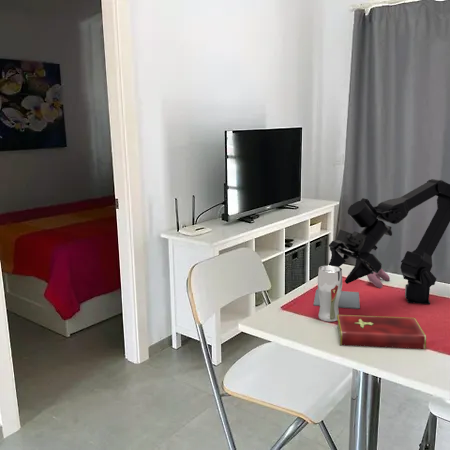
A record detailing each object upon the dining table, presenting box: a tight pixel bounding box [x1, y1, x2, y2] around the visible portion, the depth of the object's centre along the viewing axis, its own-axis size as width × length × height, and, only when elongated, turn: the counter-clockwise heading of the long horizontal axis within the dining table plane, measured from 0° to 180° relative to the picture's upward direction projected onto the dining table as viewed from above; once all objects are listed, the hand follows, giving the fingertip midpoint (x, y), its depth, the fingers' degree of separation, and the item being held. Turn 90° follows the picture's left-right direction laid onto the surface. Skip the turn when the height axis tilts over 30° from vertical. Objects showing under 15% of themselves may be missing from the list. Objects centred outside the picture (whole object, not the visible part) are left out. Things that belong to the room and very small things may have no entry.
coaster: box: [313, 288, 361, 310], centre depth 157 cm, size 14×14×1 cm
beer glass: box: [317, 265, 343, 323], centre depth 141 cm, size 7×7×15 cm
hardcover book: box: [337, 314, 427, 350], centre depth 129 cm, size 12×21×4 cm, turn 82°
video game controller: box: [366, 267, 391, 289], centre depth 171 cm, size 10×5×7 cm, turn 145°
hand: (336, 278), depth 141 cm, fingers open, 9 cm apart
